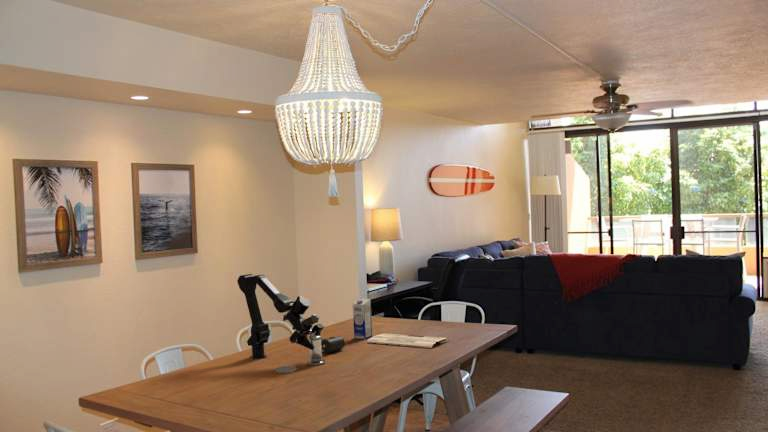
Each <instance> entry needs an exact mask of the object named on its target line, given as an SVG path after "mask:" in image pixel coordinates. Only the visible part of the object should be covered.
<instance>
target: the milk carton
mask: <svg viewBox="0 0 768 432" xmlns="http://www.w3.org/2000/svg"><path fill="white" fill-rule="evenodd" d="M371 302H372V301H371V299H370V298H367V299H366V298H359V299H357V300H356V301H354V302H353V303H352V318H353V319H352V320H353V334H354V335H353V336H354V337H353V339H354V340H355V339H356V340H363V339H366V340H368V339H369V338H370V337H371V338H372V337H373V328H372V327H373V325H372V308H371V307H372V305H371V304H372V303H371Z"/></svg>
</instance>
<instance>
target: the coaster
mask: <svg viewBox="0 0 768 432" xmlns="http://www.w3.org/2000/svg"><path fill="white" fill-rule="evenodd" d="M274 371H275V373H276V374H291V373H294V372H296V371H297V367H296V366H294V365H284V366H278V367H276V368H275V369H274Z"/></svg>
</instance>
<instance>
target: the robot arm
mask: <svg viewBox="0 0 768 432" xmlns="http://www.w3.org/2000/svg"><path fill="white" fill-rule="evenodd" d="M236 281H237V285H238V288H239V290H240V292H242V293H243V294H244V297H245V301H246V304H247V309H248V313H249V318H250V321H251V327H250V336H249V338H248V339H247V340H246V343H247V346H251V355H250V358H251V359H252V360H257V359H262V358H267V355H266V354H265V344H267V343H268V342H269V338H270V335H271V330H270V327H269V324H268V323H265V322H264V321H263V318H262V314H261V310H260V306H259V302H258V297H257V294H256V290H257V285H258V287H259V288H261V290H262V291H263V293H265V294H266V295H267V296H268V298H269V299H271V301H272V303H273V307H274V308H275V309H276V311H277V312H278V313H280V314H283V313H286V314H283V316H282V317H283V318H282V321H283V322H285V321H286V322H287V321H288V323H289V324H291V326H292V327H291V329H292V330H293V332H292V334H291V335H290V336H289V342H290V343H291V344H296V345H300V346H302V347H304V348H306V349H309V350H310V349H311V350H313V349H314V348H313V346H312V344H311V343H310V341H309V339H308V336H313V335H320V336H321V334H322V333H321V332H322V331H323V330H324V328H325V326H323V324H322V323H319V319H320V318H319V316H318V315H317V313H314V314H312V315H310V316H309V317H303V316H302V315H304V314H305V313H306V311H307V310H308V309H309V308H310V306H311V305H312V304H311V301H310V300H309V299H308V298H306V297H303V296H302V295H298V296H297V298H296V299H295V300H292V298H289V296H287V295H285V294H283V293H281V292H280V291H279V290H278V288H276V286H274V284H272V282H270V281H269V279H267V276H266V275H265V274H259V275H258V274H257V275H254V274H253V273H248V274H241V275H239V276H238V278H237V280H236ZM316 323H317V324H316ZM321 346H322V347H325V345H324V344H323V341H322V336H321Z"/></svg>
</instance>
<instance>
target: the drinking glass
mask: <svg viewBox="0 0 768 432" xmlns="http://www.w3.org/2000/svg"><path fill="white" fill-rule="evenodd" d="M320 335H321V334H320ZM320 335H313V336H311V335H308V338H309V339H308V340H309V341H310V343H311V344H312V346H313V348H314V349H313V350H311V349H309V358H310V359H311V358H320V357H321V358H322V357H323V353H322V351H323V350H322V346H321V338H322V336H320Z"/></svg>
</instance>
